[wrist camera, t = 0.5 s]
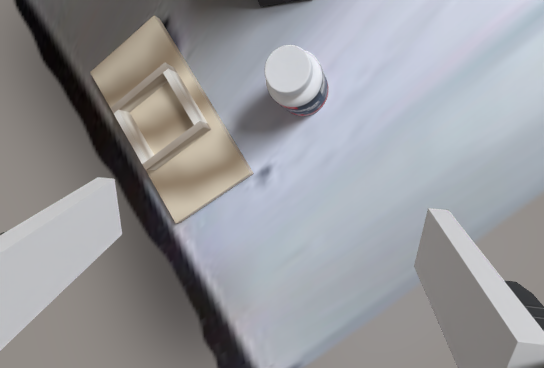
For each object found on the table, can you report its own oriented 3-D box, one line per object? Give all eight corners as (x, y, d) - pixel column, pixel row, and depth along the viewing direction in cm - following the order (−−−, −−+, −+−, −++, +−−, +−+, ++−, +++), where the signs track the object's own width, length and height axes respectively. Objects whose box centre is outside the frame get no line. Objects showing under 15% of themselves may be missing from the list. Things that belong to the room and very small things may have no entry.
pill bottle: (282, 119, 38) (257, 104, 29) (279, 71, 38) (253, 42, 29) (330, 113, 36) (319, 96, 28) (327, 64, 36) (315, 31, 28)
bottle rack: (97, 74, 44) (77, 67, 41) (160, 19, 41) (143, 7, 38) (181, 222, 42) (166, 226, 38) (253, 173, 39) (243, 173, 36)
